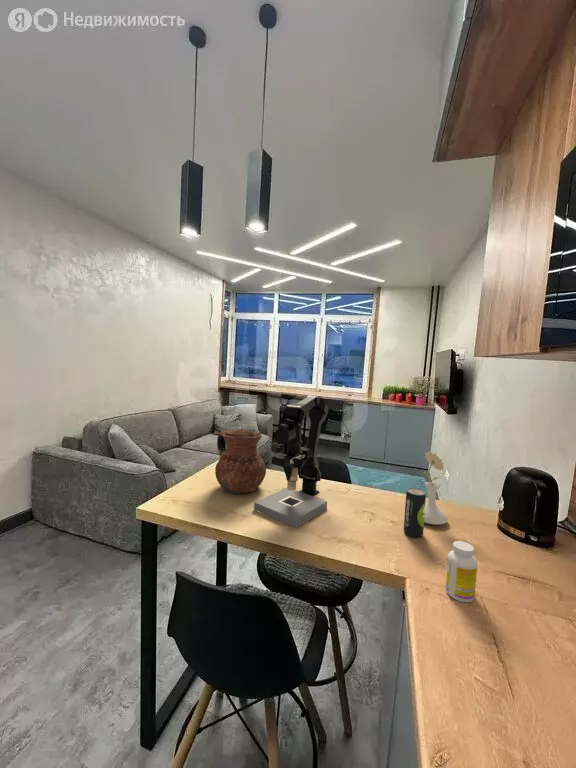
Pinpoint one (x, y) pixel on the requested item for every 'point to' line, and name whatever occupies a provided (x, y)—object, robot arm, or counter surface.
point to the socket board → (290, 506)
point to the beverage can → (414, 512)
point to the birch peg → (293, 479)
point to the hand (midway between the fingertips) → (292, 478)
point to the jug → (239, 461)
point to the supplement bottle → (461, 572)
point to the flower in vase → (433, 494)
